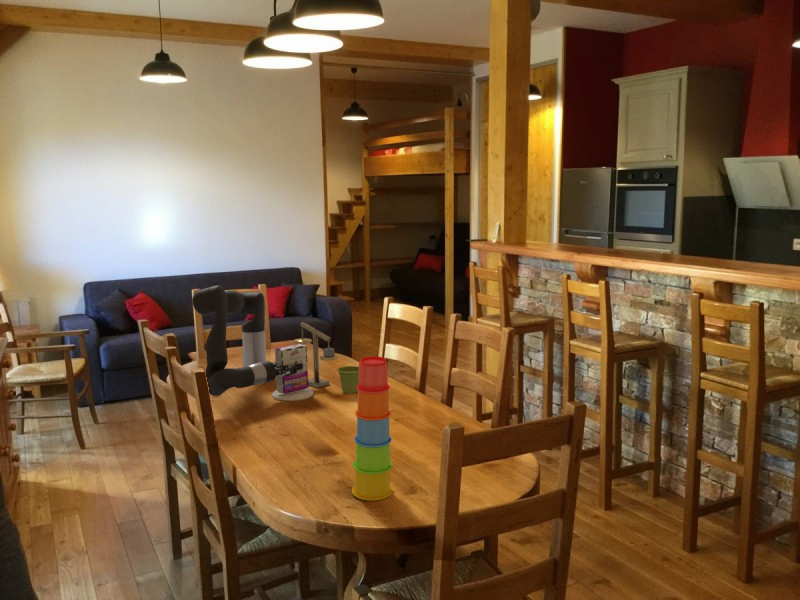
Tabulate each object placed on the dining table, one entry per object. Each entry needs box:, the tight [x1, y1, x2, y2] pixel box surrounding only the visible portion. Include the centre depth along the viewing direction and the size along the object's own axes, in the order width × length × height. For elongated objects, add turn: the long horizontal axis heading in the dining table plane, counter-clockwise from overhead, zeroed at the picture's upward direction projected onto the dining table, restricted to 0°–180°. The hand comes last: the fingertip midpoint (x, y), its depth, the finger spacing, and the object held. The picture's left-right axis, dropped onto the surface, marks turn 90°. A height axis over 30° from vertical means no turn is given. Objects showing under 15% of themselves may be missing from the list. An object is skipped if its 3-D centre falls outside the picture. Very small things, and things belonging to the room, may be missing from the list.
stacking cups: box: [351, 355, 394, 502], centre depth 178 cm, size 10×10×35 cm
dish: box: [271, 387, 314, 402], centre depth 266 cm, size 15×15×1 cm
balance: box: [293, 321, 339, 389], centre depth 278 cm, size 22×7×24 cm, turn 47°
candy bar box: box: [274, 343, 309, 394], centre depth 265 cm, size 11×5×16 cm, turn 132°
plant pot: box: [337, 365, 359, 395], centre depth 269 cm, size 9×9×9 cm
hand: (297, 364), depth 266 cm, fingers closed on candy bar box, 5 cm apart
